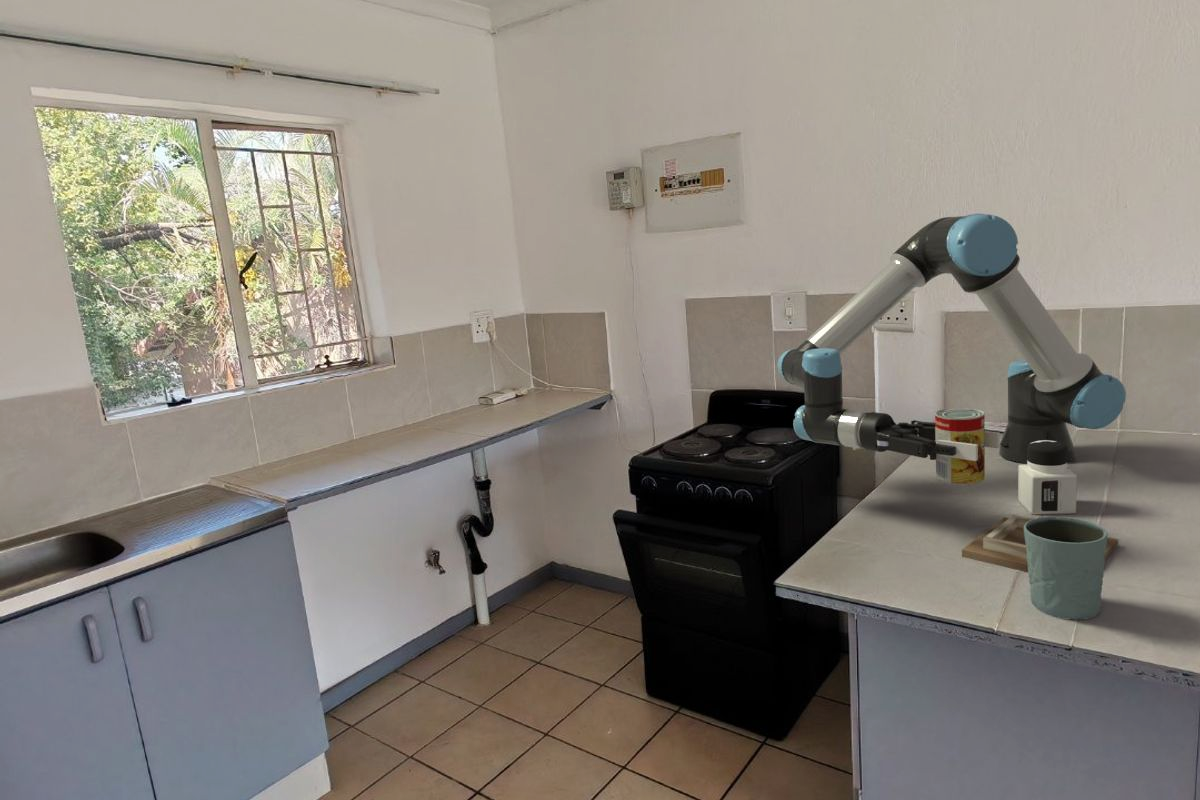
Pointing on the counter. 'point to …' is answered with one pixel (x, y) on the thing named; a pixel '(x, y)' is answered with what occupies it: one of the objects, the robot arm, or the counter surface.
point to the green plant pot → (1065, 565)
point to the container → (1047, 480)
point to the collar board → (1009, 544)
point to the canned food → (964, 429)
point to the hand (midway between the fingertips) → (987, 446)
